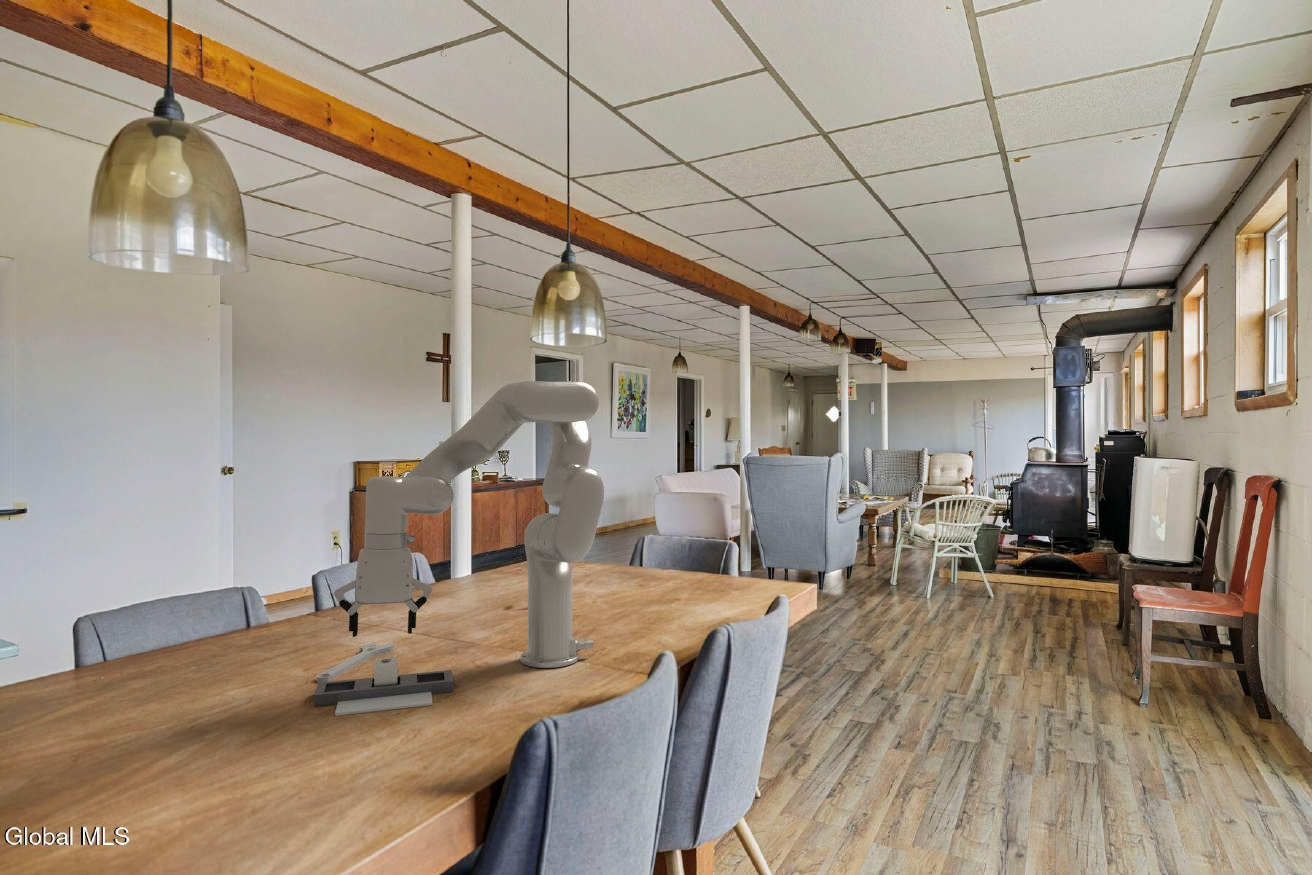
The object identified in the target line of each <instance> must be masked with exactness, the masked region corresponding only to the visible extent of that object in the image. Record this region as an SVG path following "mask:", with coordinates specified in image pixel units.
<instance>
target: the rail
mask: <svg viewBox="0 0 1312 875" xmlns="http://www.w3.org/2000/svg"><path fill="white" fill-rule="evenodd" d="M425 692H431V694H432V695H433V694H444V693H453V692H454V677H453V671H452V669H447V670H438V671H427V672H416V673H407V674H406V673H405V674H398V685H392V686H382V687H374V677H364V678H353V679H345V680H334V681H332V680H331V681H328V682H322V683H319V682H317V685H316V688H315V690H314V693H313V707H321V706H330V705H332V706H333V705H337V704H338V702H339V701H349V700H358V699H368V698H377V697H387V696H396V695H406V694H415V693H425Z"/></svg>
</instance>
